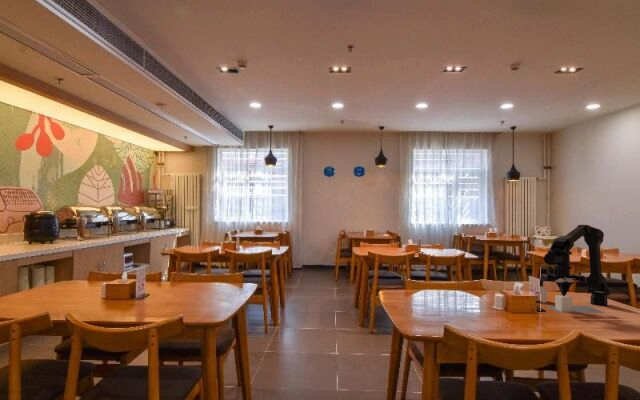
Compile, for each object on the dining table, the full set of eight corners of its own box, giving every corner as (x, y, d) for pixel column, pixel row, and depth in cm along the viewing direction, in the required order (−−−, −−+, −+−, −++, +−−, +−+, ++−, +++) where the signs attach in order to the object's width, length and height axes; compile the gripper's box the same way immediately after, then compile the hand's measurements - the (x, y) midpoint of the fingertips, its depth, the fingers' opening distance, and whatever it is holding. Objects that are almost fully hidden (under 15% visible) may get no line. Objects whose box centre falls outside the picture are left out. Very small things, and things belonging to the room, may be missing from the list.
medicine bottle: (541, 300, 221) (540, 278, 221) (547, 303, 214) (546, 280, 214) (527, 300, 221) (527, 278, 222) (532, 303, 214) (532, 280, 215)
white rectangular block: (566, 308, 199) (565, 295, 199) (572, 311, 194) (572, 297, 194) (555, 308, 199) (555, 295, 199) (561, 311, 194) (561, 297, 194)
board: (586, 307, 205) (586, 306, 205) (606, 314, 191) (606, 312, 191) (543, 306, 206) (543, 305, 206) (559, 313, 192) (559, 312, 192)
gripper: (572, 261, 205) (572, 292, 205) (535, 261, 205) (535, 292, 205) (586, 264, 194) (586, 297, 194) (547, 264, 194) (547, 297, 194)
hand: (563, 295), depth 197 cm, fingers closed
